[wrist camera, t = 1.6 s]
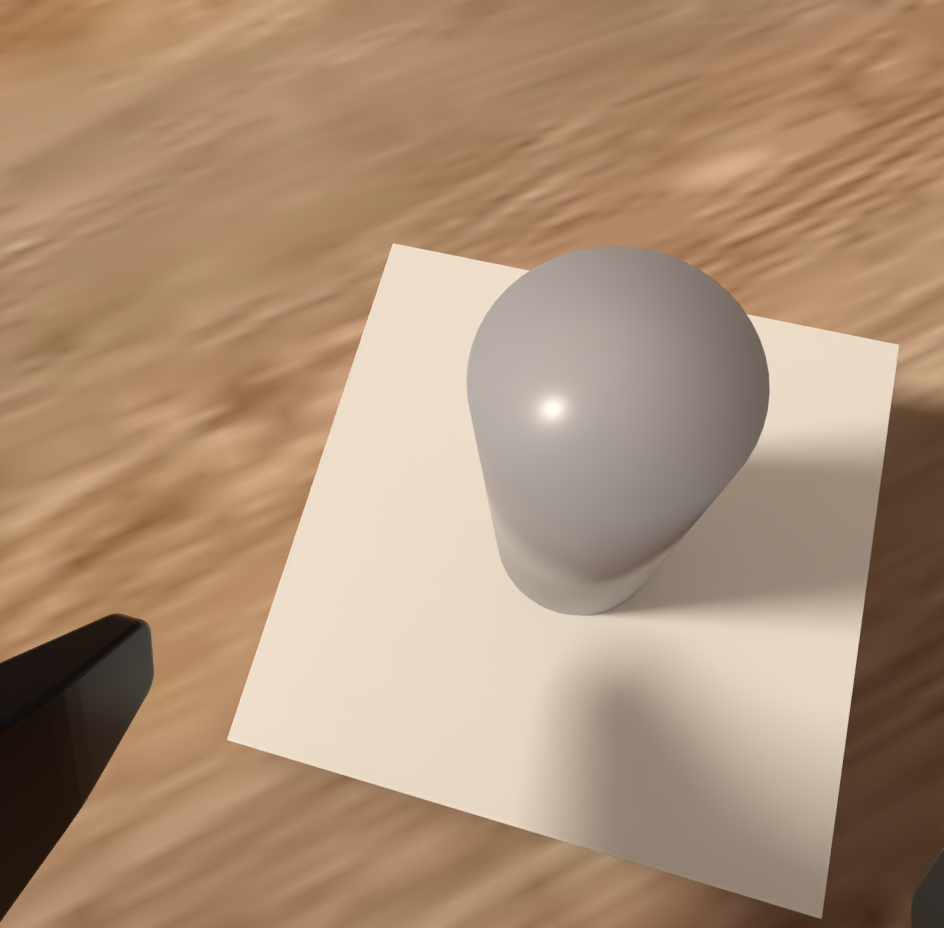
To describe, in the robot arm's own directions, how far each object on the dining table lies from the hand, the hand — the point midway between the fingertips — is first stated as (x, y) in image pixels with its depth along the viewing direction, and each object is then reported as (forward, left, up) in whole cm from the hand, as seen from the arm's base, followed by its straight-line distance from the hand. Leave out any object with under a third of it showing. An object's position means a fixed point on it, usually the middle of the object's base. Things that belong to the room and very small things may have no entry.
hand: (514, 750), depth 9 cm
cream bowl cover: (+2, -3, -10) cm, 11 cm away
